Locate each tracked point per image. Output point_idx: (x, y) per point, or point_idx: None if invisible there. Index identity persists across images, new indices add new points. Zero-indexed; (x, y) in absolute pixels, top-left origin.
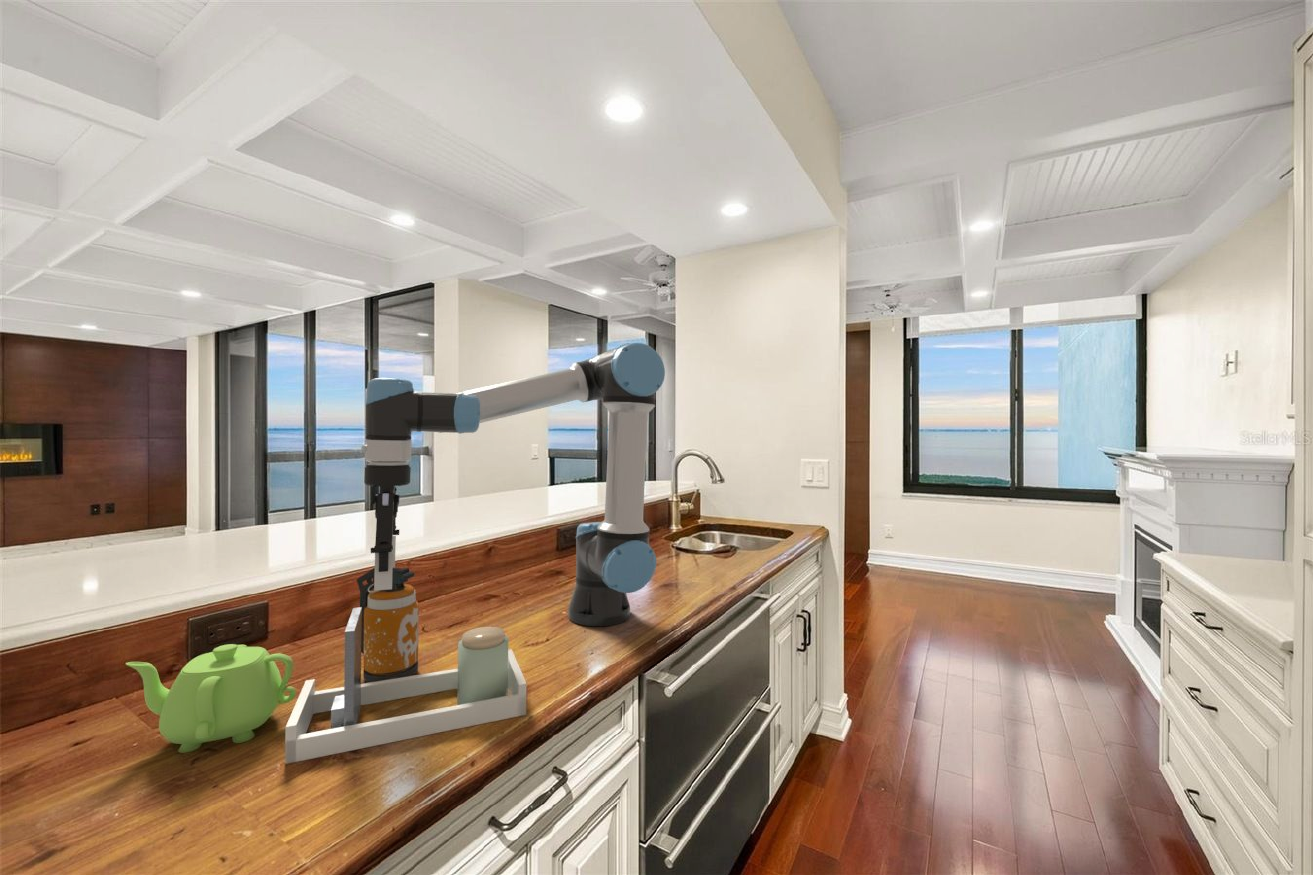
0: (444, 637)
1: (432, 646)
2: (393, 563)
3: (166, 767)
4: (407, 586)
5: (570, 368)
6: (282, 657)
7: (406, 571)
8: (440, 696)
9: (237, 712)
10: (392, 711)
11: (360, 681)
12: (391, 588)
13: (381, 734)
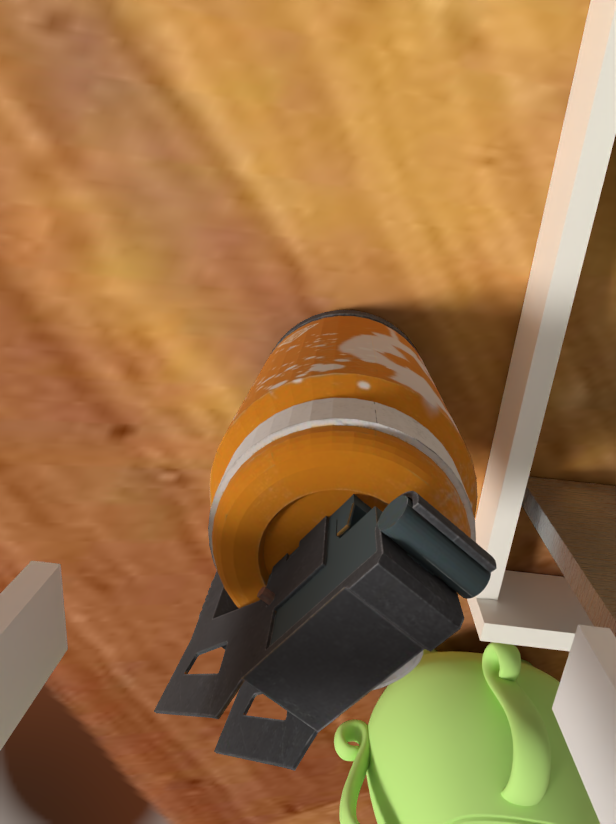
0: (62, 174)
1: (144, 233)
2: (33, 606)
3: None
4: (337, 479)
5: None
6: (546, 772)
7: (407, 566)
8: (592, 260)
9: None
10: (597, 401)
11: (560, 516)
12: (612, 634)
13: None
